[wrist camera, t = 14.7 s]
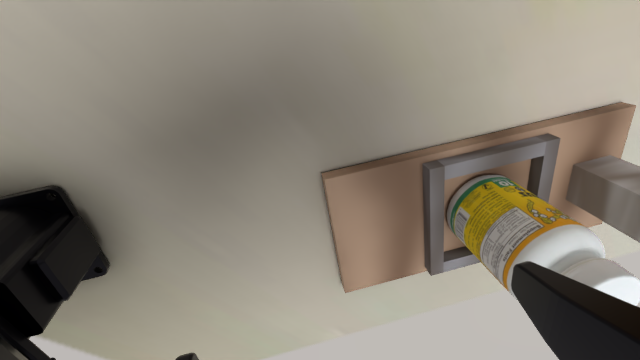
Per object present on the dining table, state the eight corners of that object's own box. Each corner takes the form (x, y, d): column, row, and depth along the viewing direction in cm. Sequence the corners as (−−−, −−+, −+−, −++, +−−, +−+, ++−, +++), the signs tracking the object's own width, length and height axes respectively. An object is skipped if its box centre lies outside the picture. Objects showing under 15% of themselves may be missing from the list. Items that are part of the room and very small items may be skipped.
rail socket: (342, 283, 26) (369, 366, 20) (321, 173, 21) (349, 236, 15) (590, 217, 28) (686, 273, 22) (621, 102, 23) (754, 133, 17)
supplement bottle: (430, 212, 23) (532, 324, 15) (488, 156, 22) (635, 243, 14) (470, 246, 25) (579, 360, 17) (525, 198, 24) (672, 294, 16)
